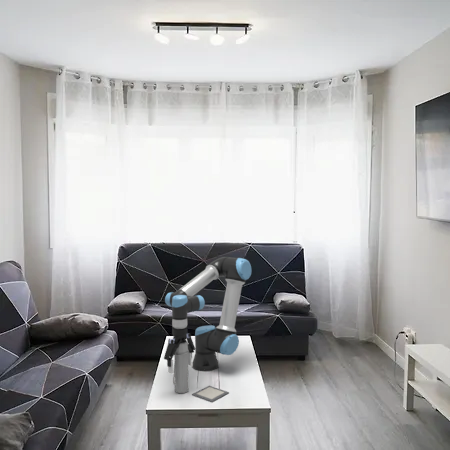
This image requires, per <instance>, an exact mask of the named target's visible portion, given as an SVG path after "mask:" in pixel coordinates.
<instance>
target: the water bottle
mask: <svg viewBox="0 0 450 450" xmlns="http://www.w3.org/2000/svg"><path fill="white" fill-rule="evenodd" d="M188 352H189V350H188V344H187V342H183V343H180V345H179V347H178V348H177V349H176V352H175V354H174V356H173V358H174V360H173V373H172V374H173V378H172V379H173V380H172V382H173V383H172V384H173V385H174V392H175V393H178V394H185V393H187V392H189V365H188Z"/></svg>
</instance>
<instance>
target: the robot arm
mask: <svg viewBox="0 0 450 450" xmlns="http://www.w3.org/2000/svg"><path fill="white" fill-rule="evenodd" d="M251 265H252V264H251V263H250V261H249V260H248V259H246V258H242V257H229V256H223V257H219V258H217V259H216V260H213V261H212V262H210V263H209V264H208V265H206V266H205V269H204V270H202V271H201V272H199V274H197V275H196V276H195V277H193V278H192V279H191V280H189V281H188V282H187V283H186V284H184V285H183V286H182V287H180V288H179V289H178V290H177V291H175V292H173V291H171V292H168V293H167V294H166V296H165V298H164V302H165V304H166V305H167V306H168V307H171V319H172V320H171V321H172V322H171V324H172V325H171V326H172V328H171V332H172V334H171V335H172V336H173V337H172V339H171V338H168V342H167V346H166V350H165V352H164V355H163V356H164V357H163V359H164V360H165V361H167V362H166V364H167V373H170V374H174V360H173V358H174V354H175V352H176V349H177V348H178V347H179V345H180V343H183V342H187V344H188V350H189V352H188V366H192V368H193V369H195V370H197V371H204V372H207V371H209V372H210V371H213V370H216V369H218V368H219V360H218V358H217V357H218V356H217V354H216V353H218V354H221V355H226V356H231V355H233V354H234V353H235V352H236V351H237V349H238V347H239V343H240V339H239V336H238V335H237V330H236V328H235V326H236V320H237V315H238V311H239V310H238V309H239V304H240V300H241V299H240V298H241V293H242V289H243V285H245V284H246V281H247V280H249V278H250V277H252V276H251V275H252V266H251ZM221 277H222V278H224V279H225V282H226V288H225V293H224V298H223V303H222V307H221V309H222V310H221V314H220V320H219V325H217V326H215V325H202V326H199V327H197V328H196V329H195V334H194V340H195V341H194V342H193V338H192V333H188V314H189V313H194V312H198V311H199V310H200V311H201V310H202V309H203V308H204V307H205V306H206V305H205V304H206V302H205V299H204V297H203V296H202V295H199V294H198V293H199V292H200V291H201V290H202V289H204V288H205V287H206V286H208V285H209V284H210V283H211V282H212V281H213V280H218V279H220V278H221ZM197 294H198V295H197ZM194 353H195V354H194ZM193 354H194V356H193ZM192 358H193V360H192Z"/></svg>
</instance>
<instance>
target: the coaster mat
mask: <svg viewBox="0 0 450 450" xmlns="http://www.w3.org/2000/svg"><path fill="white" fill-rule="evenodd" d="M228 394H230V392H229V391H226V390H223V389H221V388H218V387H214V386H211V385H207V386H205V387H203V388H201V389H199V390H197V391H196V392H193V393H191V395H192V396H193V397H195V398H199V399H202V400H204V401H206V402H210V403H214V402H216V401H218V400H220V399H221V398H223V397H225V396H227V395H228Z"/></svg>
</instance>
